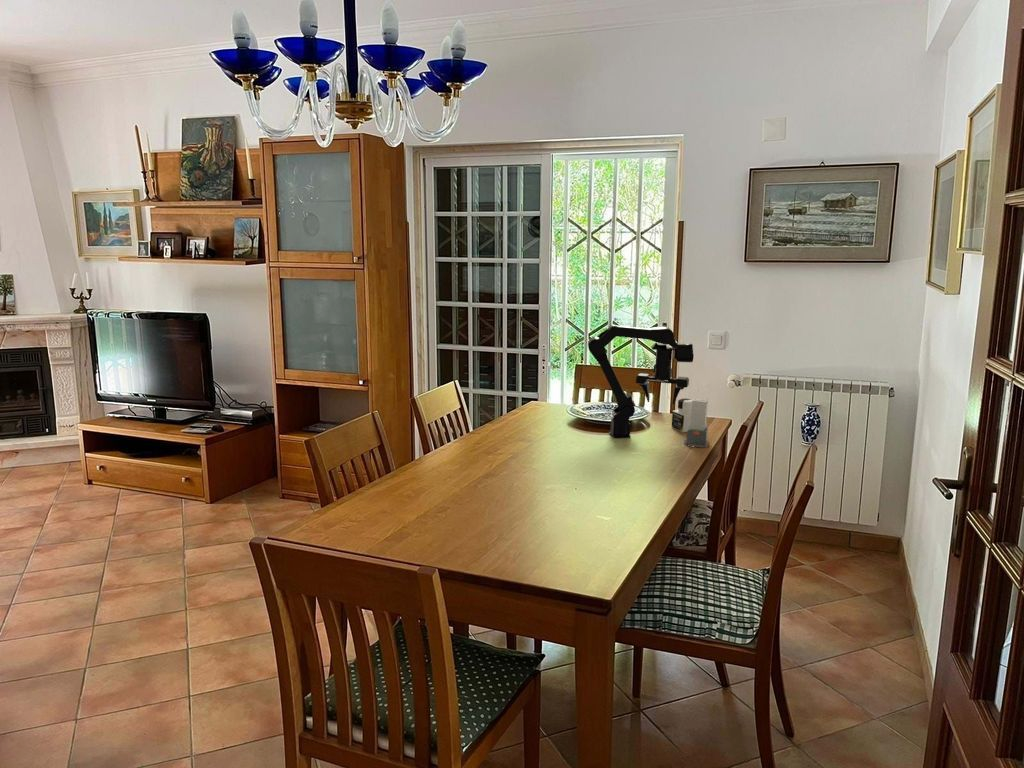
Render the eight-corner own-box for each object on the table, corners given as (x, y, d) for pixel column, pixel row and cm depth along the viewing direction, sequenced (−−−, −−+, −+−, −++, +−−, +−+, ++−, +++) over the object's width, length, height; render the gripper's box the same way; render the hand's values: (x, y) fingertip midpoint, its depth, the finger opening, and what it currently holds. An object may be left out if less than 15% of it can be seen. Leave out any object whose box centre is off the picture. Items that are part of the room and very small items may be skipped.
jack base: (682, 446, 266) (683, 430, 264) (685, 439, 274) (686, 424, 273) (708, 449, 263) (709, 433, 261) (710, 442, 271) (711, 427, 270)
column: (689, 433, 266) (691, 400, 263) (691, 429, 270) (693, 397, 268) (704, 434, 264) (706, 402, 261) (705, 431, 269) (708, 399, 266)
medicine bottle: (671, 428, 289) (673, 398, 286) (685, 426, 292) (687, 396, 289) (682, 432, 283) (684, 402, 280) (697, 431, 286) (699, 400, 283)
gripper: (692, 359, 275) (689, 400, 278) (641, 356, 281) (639, 396, 284) (688, 365, 265) (685, 407, 268) (636, 361, 271) (634, 402, 274)
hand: (660, 403), depth 274 cm, fingers open, 9 cm apart
